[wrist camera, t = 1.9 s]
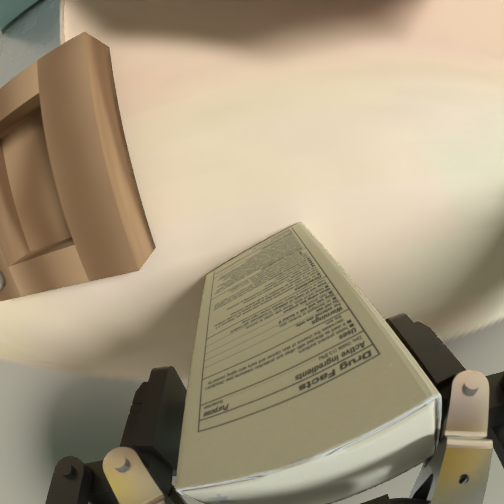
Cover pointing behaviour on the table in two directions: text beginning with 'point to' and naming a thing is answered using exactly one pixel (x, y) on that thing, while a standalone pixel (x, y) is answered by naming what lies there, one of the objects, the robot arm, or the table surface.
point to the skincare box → (298, 384)
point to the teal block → (12, 10)
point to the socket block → (66, 175)
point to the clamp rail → (30, 37)
